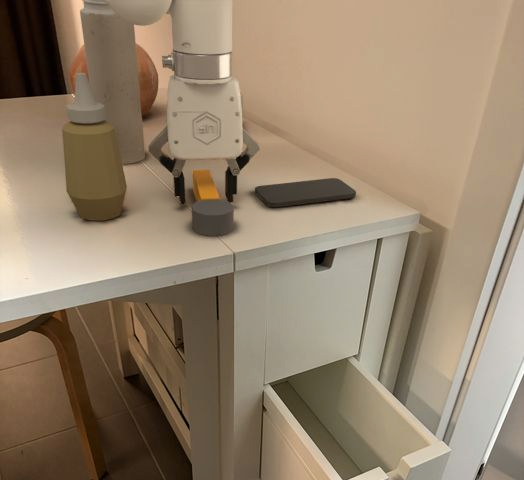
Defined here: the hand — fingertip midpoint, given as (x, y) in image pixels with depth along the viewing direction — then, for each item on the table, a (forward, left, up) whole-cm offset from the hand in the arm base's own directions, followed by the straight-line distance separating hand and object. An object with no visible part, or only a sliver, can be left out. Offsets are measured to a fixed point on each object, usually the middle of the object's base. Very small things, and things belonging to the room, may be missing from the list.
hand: (205, 198), depth 82 cm
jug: (+22, +49, -1) cm, 53 cm away
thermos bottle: (+5, +26, -1) cm, 26 cm away
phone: (+14, -8, -1) cm, 16 cm away
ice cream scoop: (-2, -2, -1) cm, 3 cm away
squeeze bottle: (-13, +8, -1) cm, 15 cm away
